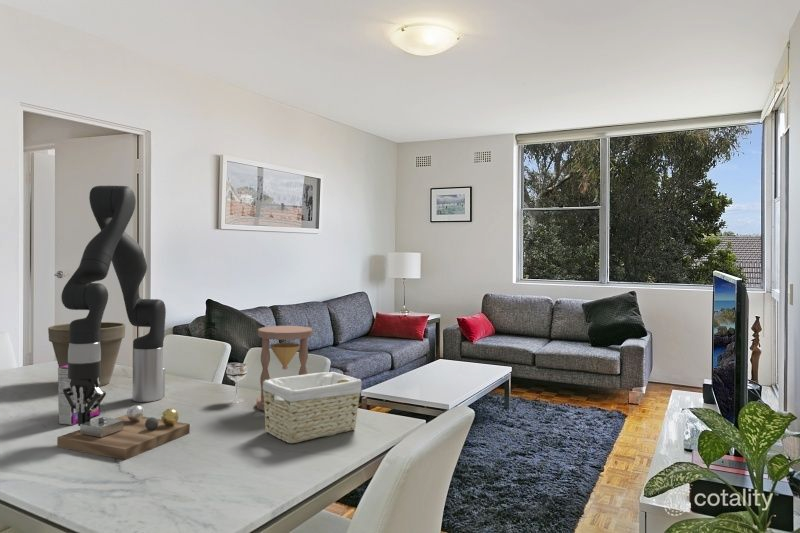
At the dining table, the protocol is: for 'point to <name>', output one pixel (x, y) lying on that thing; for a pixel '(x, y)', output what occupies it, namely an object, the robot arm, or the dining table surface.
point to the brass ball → (170, 417)
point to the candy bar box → (65, 410)
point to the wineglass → (236, 376)
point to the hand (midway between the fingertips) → (83, 425)
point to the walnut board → (124, 439)
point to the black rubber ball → (151, 423)
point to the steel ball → (135, 413)
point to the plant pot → (108, 343)
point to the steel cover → (101, 427)
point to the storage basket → (310, 405)
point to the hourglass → (282, 350)
